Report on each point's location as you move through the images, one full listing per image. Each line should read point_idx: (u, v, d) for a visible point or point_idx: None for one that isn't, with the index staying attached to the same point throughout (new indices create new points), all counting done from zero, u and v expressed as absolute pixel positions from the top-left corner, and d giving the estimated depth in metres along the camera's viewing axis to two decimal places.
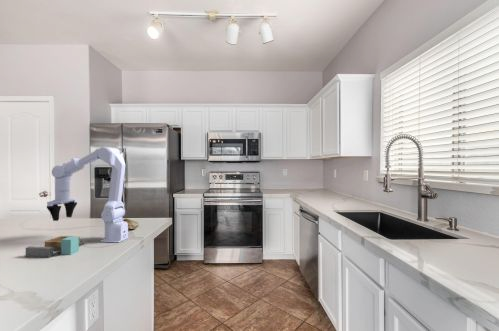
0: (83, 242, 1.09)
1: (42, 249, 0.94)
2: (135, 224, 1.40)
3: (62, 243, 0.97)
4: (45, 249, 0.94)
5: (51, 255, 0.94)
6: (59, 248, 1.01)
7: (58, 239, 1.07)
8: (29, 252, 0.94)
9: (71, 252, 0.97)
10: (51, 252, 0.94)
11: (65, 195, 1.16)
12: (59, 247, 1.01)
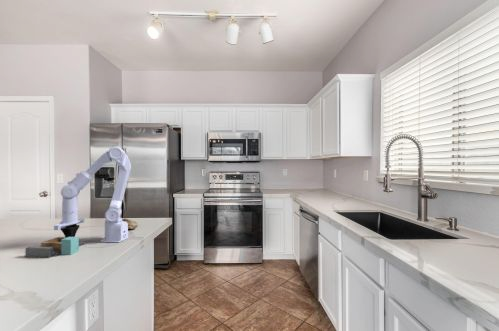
0: (83, 242, 1.09)
1: (42, 249, 0.94)
2: (134, 224, 1.40)
3: (62, 243, 0.97)
4: (45, 249, 0.94)
5: (51, 255, 0.94)
6: (56, 249, 1.00)
7: (55, 240, 1.05)
8: (29, 252, 0.94)
9: (71, 252, 0.97)
10: (51, 252, 0.94)
11: (73, 217, 1.08)
12: (56, 248, 1.00)
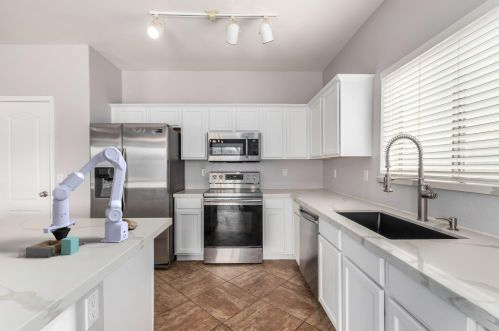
0: (83, 242, 1.09)
1: (42, 249, 0.94)
2: (134, 224, 1.40)
3: (62, 243, 0.97)
4: (45, 249, 0.94)
5: (51, 255, 0.94)
6: None
7: (46, 243, 1.01)
8: (29, 252, 0.94)
9: (71, 252, 0.97)
10: (51, 252, 0.94)
11: (64, 220, 1.03)
12: None
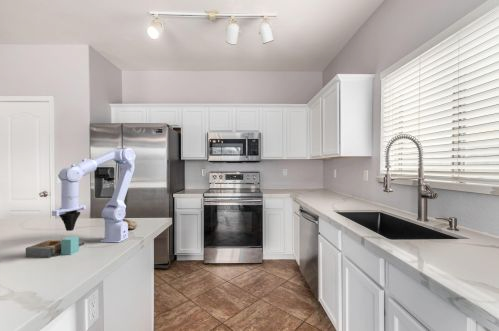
0: (83, 242, 1.09)
1: (42, 249, 0.94)
2: (134, 224, 1.41)
3: (62, 243, 0.97)
4: (45, 249, 0.94)
5: (51, 255, 0.94)
6: None
7: (46, 243, 1.01)
8: (29, 252, 0.94)
9: (71, 252, 0.97)
10: (51, 252, 0.94)
11: (73, 203, 0.98)
12: None
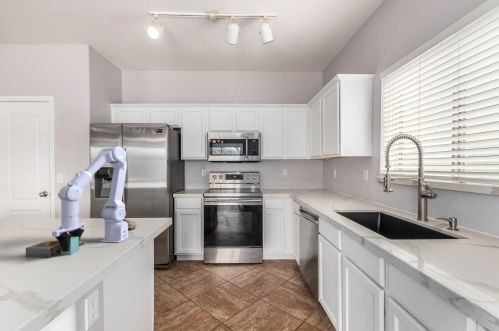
0: (83, 242, 1.09)
1: (42, 249, 0.94)
2: (133, 224, 1.41)
3: None
4: (45, 249, 0.94)
5: (51, 255, 0.94)
6: None
7: (46, 243, 1.01)
8: (29, 252, 0.94)
9: (71, 252, 0.97)
10: (51, 252, 0.94)
11: (73, 222, 0.97)
12: None
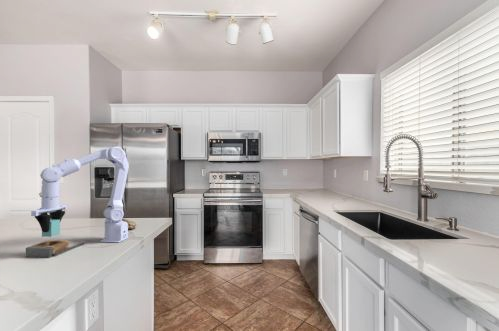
0: (83, 242, 1.09)
1: (42, 249, 0.94)
2: (133, 224, 1.41)
3: None
4: (45, 249, 0.94)
5: (51, 255, 0.94)
6: None
7: (46, 243, 1.01)
8: (29, 252, 0.94)
9: (52, 234, 0.98)
10: (51, 252, 0.94)
11: (54, 203, 0.98)
12: None
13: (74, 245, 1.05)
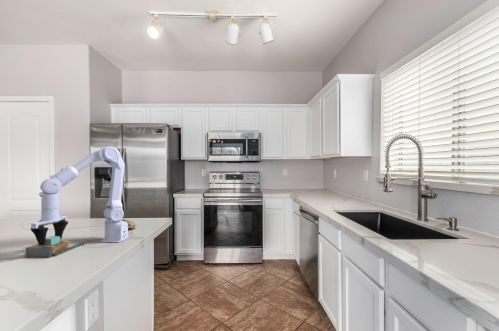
0: (83, 242, 1.09)
1: (42, 249, 0.94)
2: (132, 224, 1.41)
3: None
4: (45, 249, 0.94)
5: (51, 255, 0.94)
6: None
7: None
8: (29, 252, 0.94)
9: None
10: (51, 252, 0.94)
11: (54, 214, 0.98)
12: None
13: (74, 245, 1.05)
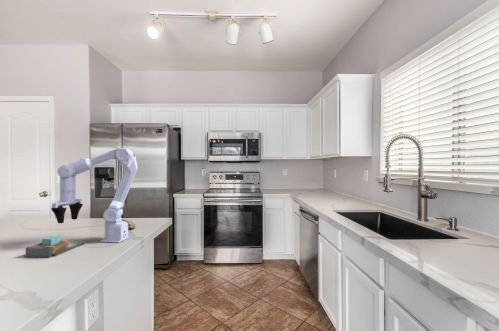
0: (83, 242, 1.09)
1: (42, 249, 0.94)
2: (132, 224, 1.41)
3: (43, 242, 0.98)
4: (45, 249, 0.94)
5: (51, 255, 0.94)
6: None
7: None
8: (29, 252, 0.94)
9: None
10: (51, 252, 0.94)
11: (71, 196, 1.10)
12: None
13: (74, 245, 1.05)
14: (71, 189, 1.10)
